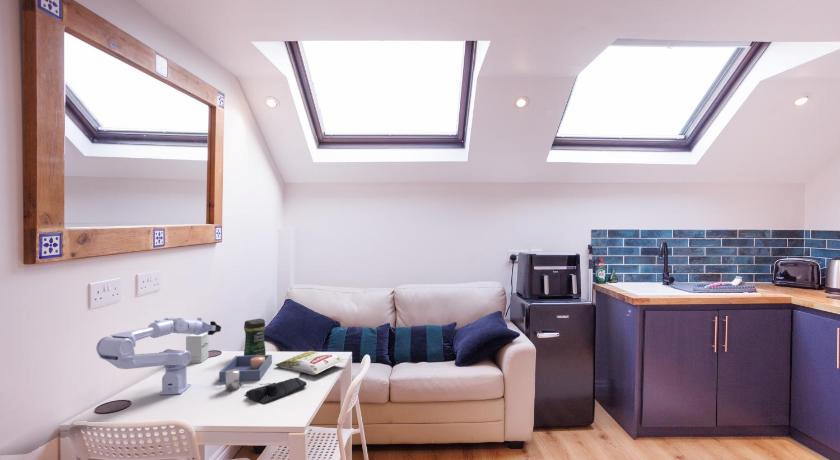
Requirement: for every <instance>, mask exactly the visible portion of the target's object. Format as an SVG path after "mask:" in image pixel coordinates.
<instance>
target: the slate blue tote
mask: <svg viewBox="0 0 840 460" xmlns="http://www.w3.org/2000/svg"><path fill="white" fill-rule="evenodd" d="M259 356H262V357H265V361H264V363H263V364H262V365H261V367H260V368H259V369H257V370H254V369H251V358H253V357H259ZM272 364H273V355H272V354H266V355H251V356H244V355H235V356H234V357H233V358H232V359H231V360H230V361H229V362H228V363H227V364H226V365H225V366H224V367H223V368H222V369H220V370H219V372H218V377H219V380H218V381H219V383H224V382H225V383H226V371H228V370H233V369H237V370H239V379H240V382H249V381H251V382H252V381H253V382H254V381H261V380H262V379H263V377H264V376H265V374H266V373H267V371H268V370H269V369H270V367H271V366H272Z"/></svg>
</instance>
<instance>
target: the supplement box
mask: <svg viewBox="0 0 840 460" xmlns="http://www.w3.org/2000/svg"><path fill="white" fill-rule="evenodd" d="M185 346H186V347H185V348H186V349H185V350H187V351H189V352H190V353H191V360H190V363H189V364H202V363H203V362H205V361H206V360H208V359H209V335H208V332H205V333H203V334H200V335H195V334H187V336H185Z"/></svg>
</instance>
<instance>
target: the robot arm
mask: <svg viewBox="0 0 840 460" xmlns="http://www.w3.org/2000/svg"><path fill="white" fill-rule="evenodd" d="M221 331H222V326H221V325H219V324H217V323H216V321H214V320H212V321H210V322H209V323H208V322H206V321H204V320H203V317H197V319H190V318H189V319H188V318H182V317H164V318H163V320H161V319H160V320H159V319H156V320H154V322H151V323H149V325H148V326H147V327H143V328H138V329H133V330H129V331H128V330H127V331H123V332H117V333H113V334H111V335H109V336H104V337H102V338H100V339H99V340H98V341H97V343H96V353H97V354H98V357H99V358H100V359H101V360H104V361H106V362H109V364H110V365H112V366H114V367H115V368H118V369H120V370H121V369H122V370H133V369H142V368H151V367H161V366H163V368H164V369H165V373H164V374H163V375H162V377H161V378H162V379H161V388H162V389H161V392H160V393H159V395H163V396H164V395H182V394H183V393H184V392H185V391H186V390H187V389H188V388H189V387H190V386H191V385H192V384H191V383H187V382H188V381H187V379H188V377H187V367H188V366H189V364H191V363H190V360H191V353H190V352H189V351H187V350H186V349H185V350H180V349H171V348H166V349H165V350H163V351H160V352H152V353H150V352H149V353H138V354H135V347H136V346H137V344H136V342H137V341H139V340H143V339H145V338H149V337H150V338H152V339H156V338H160V337H164V336H167V335H170V334H177V335H178V334H187V335H191V334H195V335H200V334H203V333H208V336H213V335H215V334H216V333H219V332H221Z"/></svg>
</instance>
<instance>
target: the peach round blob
mask: <svg viewBox="0 0 840 460" xmlns="http://www.w3.org/2000/svg"><path fill="white" fill-rule="evenodd" d="M264 361H265V357H262V356H259V357H253V358H251V369H254V370H257V369H259V368H260V367H261V365H262V364H263V363H264Z"/></svg>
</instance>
